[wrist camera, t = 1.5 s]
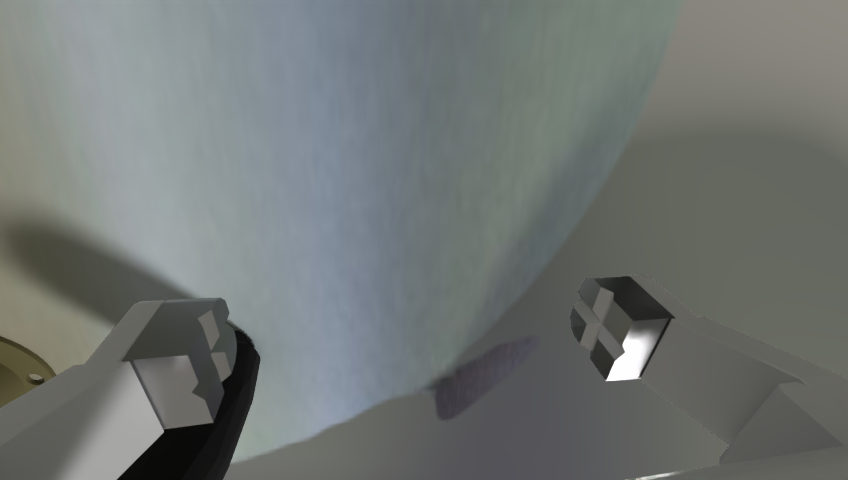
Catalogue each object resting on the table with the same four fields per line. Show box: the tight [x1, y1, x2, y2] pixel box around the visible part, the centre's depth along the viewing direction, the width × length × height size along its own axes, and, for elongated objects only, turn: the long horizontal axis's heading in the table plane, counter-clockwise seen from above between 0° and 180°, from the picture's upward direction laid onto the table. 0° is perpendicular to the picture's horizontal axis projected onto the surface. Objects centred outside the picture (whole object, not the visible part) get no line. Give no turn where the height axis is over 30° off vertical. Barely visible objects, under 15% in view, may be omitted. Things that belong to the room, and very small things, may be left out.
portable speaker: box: [117, 331, 260, 480], centre depth 36 cm, size 9×9×20 cm
